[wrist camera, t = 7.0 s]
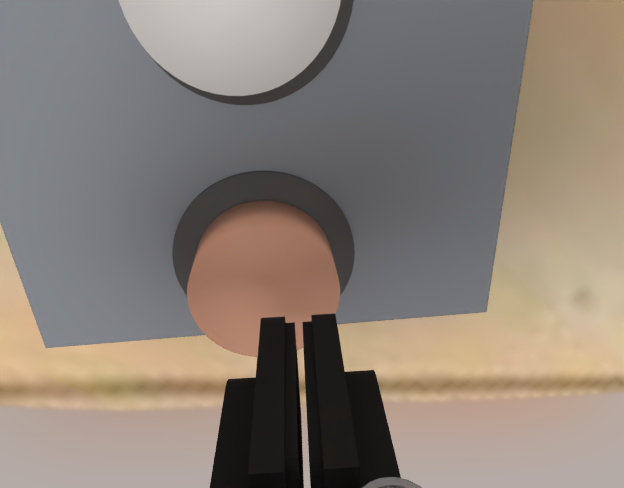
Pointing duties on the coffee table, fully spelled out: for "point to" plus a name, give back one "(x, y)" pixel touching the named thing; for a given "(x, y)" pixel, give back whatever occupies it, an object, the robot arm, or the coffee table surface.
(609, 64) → the coffee table surface
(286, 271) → the terracotta button
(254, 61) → the white button
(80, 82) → the console
